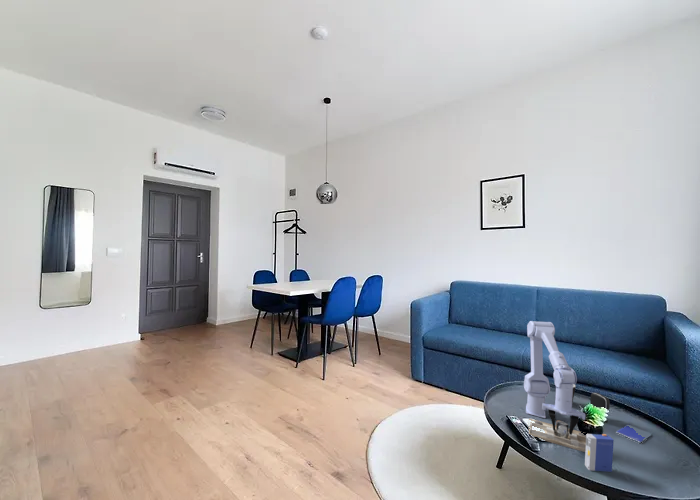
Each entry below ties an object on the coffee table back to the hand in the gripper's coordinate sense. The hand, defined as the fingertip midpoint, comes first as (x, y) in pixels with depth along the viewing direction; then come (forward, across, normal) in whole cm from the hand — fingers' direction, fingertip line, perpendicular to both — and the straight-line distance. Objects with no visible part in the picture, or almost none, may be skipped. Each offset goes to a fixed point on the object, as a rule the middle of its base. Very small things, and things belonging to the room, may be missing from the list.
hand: (562, 431), depth 131 cm
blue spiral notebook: (+5, +28, +23) cm, 36 cm away
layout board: (+4, 0, +3) cm, 5 cm away
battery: (+4, +17, +30) cm, 35 cm away
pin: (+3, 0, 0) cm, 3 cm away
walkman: (+4, +10, -13) cm, 17 cm away
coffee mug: (+4, +4, +38) cm, 38 cm away
